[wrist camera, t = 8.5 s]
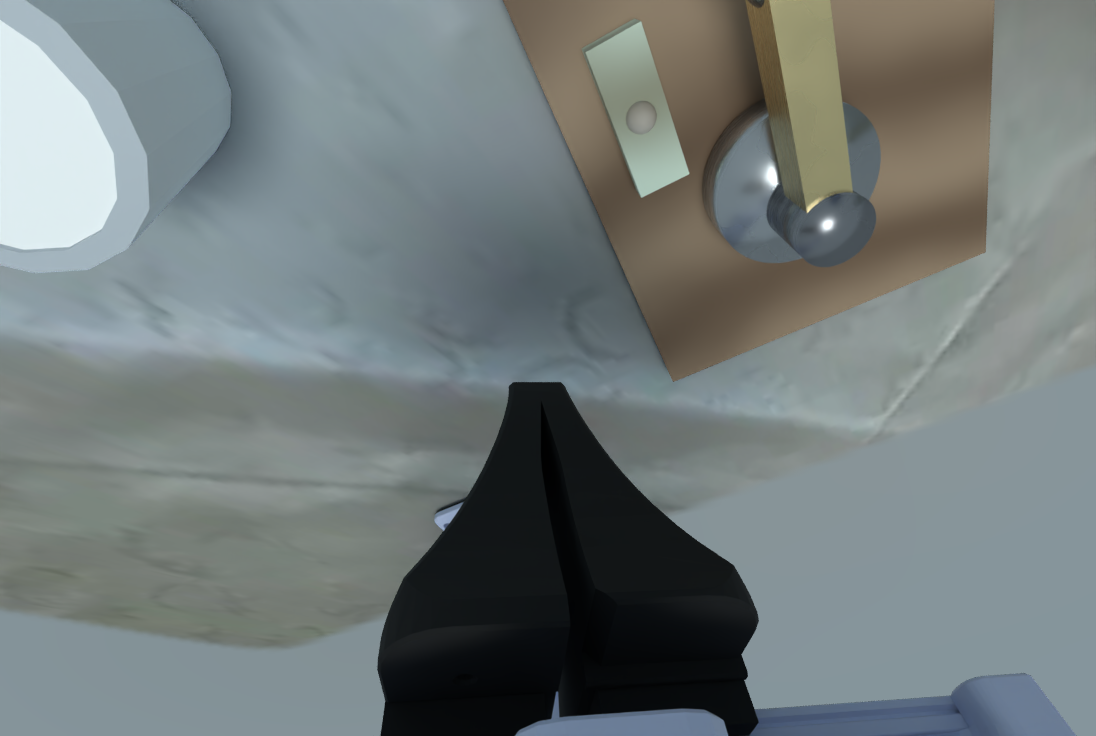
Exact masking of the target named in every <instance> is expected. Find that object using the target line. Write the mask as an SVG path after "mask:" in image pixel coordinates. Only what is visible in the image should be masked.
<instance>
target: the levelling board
mask: <svg viewBox="0 0 1096 736" xmlns="http://www.w3.org/2000/svg"><path fill="white" fill-rule="evenodd" d="M994 1H995V0H830V3H831V11H832V20H833V28H834V36H835V45H836V53H837V62H838V70H839V79H840V87H841V96H842V102H845V103H847V104H850V105H851V106H853V107H855V108H857V109H858V110H860V111H861V112H862V113H863V114H864V115H866V117H867V118H868V119H869V120H870V122H871V123H872V125H873V127H874V128H875V130H876V133H877V136H878V139H879V143H880V150H881V163H880V170H879V175H878V179H877V183H876V185H875V188H874V191H873V193H872V195H871V197H870V199H869V201H870V202H871V203H872V205H873V207H874V209H875V212H876V225H875V228H874V231H873V234H872V236H871V238H870V239H869V241H868V242H867V244H866V245H865V246H864V247H863V248H862V250H861V251H860V252H858V253H857V254H856V255H855V256H853V257H852V258H851V259H849V260H847V261H845V262H843V263H841V264H839V265H836V266H832V267H817V266H813V265H811V264H809V263H808V262H806V261H805V260H804V259H803V258H801V259H798V260H794V261H790V262H784V263H764V262H759V261H755V260H752V259H750V258H747V257H745V256H743V255H742V254H740V253H739V252H737V251H736V250H735V249H734V248H733V247H732V246H731V245H730V244H729V243H728V242H727V240H726V239H725V238H724V237H723V236H722V234H721V233H720V232H719V231H718V230H717V229H716V227H715V226H714V225H713V224H712V222H711V220H710V219H709V217H708V215H707V212H706V209H705V206H704V201H703V192H702V189H703V177H704V172H705V168H706V165H707V162H708V159H709V156H710V154H711V152H712V150H713V148H714V146H715V144H716V143H717V141H718V139H719V138H720V136H721V135H722V134H723V132H724V131H725V129H726V128H727V127H728V126H729V125H730V124H731V123H732V122H733V121H734V120H735V119H736V118H737V117H738V116H739V115H740V114H741V113H742V112H744V111H745V110H746V109H748V108H749V107H750V106H752V105H754V104H755V103H757V102H759V101H760V100H762V99H764V98H765V96H764V91H763V86H762V81H761V76H760V71H759V66H758V61H757V56H756V51H755V46H754V41H753V36H752V31H751V26H750V21H749V16H748V11H747V6H746V1H745V0H503V2H504V4H505V6H506V8H507V11H508V13H509V15H510V17H511V20H512V22H513V24H514V26H515V29H516V31H517V33H518V35H519V37H520V40H521V42H522V44H523V46H524V49H525V51H526V53H527V55H528V58H529V60H530V62H531V64H532V67H533V69H534V71H535V73H536V76H537V78H538V80H539V82H540V85H541V87H542V89H543V91H544V94H545V96H546V98H547V100H548V103H549V105H550V107H551V109H552V112H553V114H554V116H555V118H556V120H557V123H558V125H559V127H560V129H561V132H562V134H563V136H564V138H565V141H566V143H567V145H568V147H569V150H570V152H571V154H572V156H573V159H574V161H575V163H576V165H577V168H578V170H579V172H580V174H581V177H582V179H583V181H584V183H585V186H586V188H587V190H588V192H589V194H590V197H591V199H592V201H593V203H594V206H595V208H596V210H597V212H598V215H599V217H600V219H601V221H602V224H603V226H604V228H605V230H606V233H607V235H608V237H609V239H610V242H611V244H612V246H613V248H614V251H615V253H616V255H617V257H618V260H619V262H620V264H621V266H622V269H623V271H624V273H625V275H626V277H627V280H628V282H629V284H630V286H631V289H632V291H633V293H634V295H635V298H636V300H637V302H638V304H639V307H640V309H641V311H642V313H643V316H644V318H645V320H646V322H647V325H648V327H649V329H650V331H651V334H652V336H653V338H654V340H655V343H656V345H657V347H658V349H659V352H660V354H661V356H662V358H663V360H664V363H665V365H666V367H667V369H668V372H669V374H670V376H671V378H672V381H673V382H674V381H677V380H679V379H682V378H684V377H686V376H689V375H691V374H694V373H696V372H698V371H701V370H703V369H706V368H708V367H710V366H713V365H715V364H718V363H720V362H722V361H725V360H727V359H730V358H732V357H734V356H737V355H739V354H742V353H744V352H747V351H749V350H751V349H754V348H756V347H759V346H761V345H763V344H766V343H768V342H771V341H773V340H775V339H778V338H780V337H783V336H785V335H787V334H790V333H792V332H795V331H797V330H799V329H802V328H804V327H807V326H809V325H812V324H814V323H816V322H819V321H821V320H824V319H826V318H828V317H831V316H833V315H836V314H838V313H840V312H843V311H845V310H848V309H850V308H852V307H855V306H857V305H860V304H862V303H864V302H867V301H869V300H872V299H874V298H877V297H879V296H881V295H884V294H886V293H889V292H891V291H893V290H896V289H898V288H901V287H903V286H905V285H908V284H910V283H913V282H915V281H917V280H920V279H922V278H925V277H927V276H929V275H932V274H934V273H937V272H939V271H942V270H944V269H946V268H949V267H951V266H954V265H956V264H958V263H961V262H963V261H966V260H968V259H970V258H973V257H975V256H978V255H980V254H982V253H985V252H986V225H987V197H988V169H989V141H990V113H991V85H992V57H993V29H994Z"/></svg>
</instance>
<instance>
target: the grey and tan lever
mask: <svg viewBox="0 0 1096 736" xmlns="http://www.w3.org/2000/svg"><path fill="white" fill-rule="evenodd" d="M745 1H746V6H747V11H748V16H749V21H750V26H751V31H752V36H753V41H754V46H755V51H756V56H757V61H758V66H759V71H760V76H761V81H762V86H763V91H764V96H765V98H764V99H762V100H760V101H759V102H757V103H755V104H754V105H752V106H750V107H749V108H748V109H746V110H745V111H744V112H742V113H741V114H740V115H739V116H738V117H737V118H736V119H735V120H734V121H733V122H732V123H731V124H730V125H729V126H728V127H727V128H726V129H725V131H724V132H723V134H722V135H721V136H720V138H719V139H718V141H717V143H716V144H715V146H714V148H713V150H712V152H711V154H710V156H709V159H708V162H707V165H706V168H705V172H704V177H703V189H702V192H703V201H704V206H705V209H706V212H707V215H708V217H709V219H710V220H711V222H712V224H713V225H714V226H715V227H716V229H717V230H718V231H719V232H720V233H721V234H722V236H723V237H724V238H725V239H726V240H727V242H728V243H729V244H730V245H731V246H732V247H733V248H734V249H735V250H736V251H737V252H739V253H740V254H742V255H743V256H745V257H747V258H750V259H752V260H755V261H759V262H764V263H784V262H790V261H794V260H798V259H801V258H803V259H804V260H805V261H806V262H808V263H809V264H811V265H813V266H817V267H832V266H836V265H839V264H841V263H843V262H845V261H847V260H849V259H851V258H852V257H853V256H855V255H856V254H857V253H858V252H860V251H861V250H862V248H863V247H864V246H865V245H866V244H867V242H868V241H869V239H870V238H871V236H872V234H873V231H874V228H875V225H876V212H875V209H874V207H873V205H872V203H871V202H870V201H869V199H870V197H871V195H872V193H873V191H874V188H875V185H876V183H877V179H878V175H879V170H880V163H881V150H880V143H879V139H878V136H877V133H876V130H875V128H874V127H873V125H872V123H871V122H870V120H869V119H868V118H867V117H866V115H864V114H863V113H862V112H861V111H860V110H858V109H857V108H855V107H853V106H851V105H850V104H847V103H845V102H842V96H841V87H840V79H839V70H838V62H837V53H836V45H835V36H834V28H833V20H832V11H831V3H830V0H745Z"/></svg>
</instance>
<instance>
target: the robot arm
mask: <svg viewBox="0 0 1096 736" xmlns="http://www.w3.org/2000/svg"><path fill="white" fill-rule="evenodd" d="M435 523H436V524H437V525H438V526H439V527H440V528H441V529H442V530H443V532H442V534H441V535H440V536H439V538H438V539H437V540H436V542H435V543H434V544H433V545H432V547H431V548H430V549H429V550H428V552H427V553H426V554H425V555H424V556H423V557H422V558H421V559H420V560H419V562H418V563H417V564H416V565H415V566H414V567H413V568H412V569H411V571H410V572H409V573H408V574H407V575H406V576H405V577H404V579H403V581H402V583H401V585H400V587H399V590H398V592H397V594H396V596H395V598H394V601H393V603H392V605H391V608H390V610H389V613H388V616H387V619H386V622H385V625H384V629H383V632H382V637H381V642H380V649H379V656H378V669H377V670H378V674H379V678H380V681H381V685H382V689H383V693H384V697H385V708H384V715H383V722H382V730H381V736H1076V735H1075V733H1074V732H1073V731H1072V730H1071V728H1070V727H1069V726H1068V724H1067V723H1066V721H1065V720H1064V719H1063V717H1061V715H1060V714H1059V712H1058V711H1057V710H1056V708H1055V707H1054V706H1053V705H1052V703H1051V702H1050V700H1049V699H1048V698H1047V696H1046V695H1045V694H1044V692H1043V691H1042V690H1041V689H1040V687H1039V686H1038V685H1037V683H1036V682H1035V681H1034V679H1033V678H1032V677H1031V675H1028V674H1025V673H1020V674H1004V675H989V676H980V677H975V678H972V679H969V680H966V681H965V682H963V683H961V684H960V685H959V686H958V687H956V689H955V690H954V691H953V692H952V694H951V696H939V697H924V698H911V699H896V700H882V701H868V702H854V703H840V704H827V705H826V704H825V705H812V706H799V707H798V706H797V707H784V708H769V709H755V710H754V707H753V704H752V701H751V698H750V696H749V693H748V690H747V687H746V684H745V681H744V680H745V679H746V678H747V677H748V673H747V669H746V667H745V664H744V661H743V658H742V655H741V654H742V653H743V651H744V649H745V647H746V646H747V644H748V642H749V641H750V639H751V637H752V636H753V634H754V632H755V630H756V627H757V624H758V621H759V620H758V614H757V611H756V608H755V606H754V603H753V601H752V599H751V596H750V594H749V592H748V590H747V588H746V586H745V584H744V583H743V581H742V579H741V577H740V576H739V574H738V572H737V570H736V569H735V567H734V565H732V564H731V563H729V562H728V561H727V560H725V559H723V558H722V557H720V556H719V555H717V554H716V553H715V552H713V551H711V550H710V549H709V548H707V547H706V546H704V545H703V544H701V543H700V542H698V541H697V540H695V539H694V538H693V537H692V536H690V535H689V534H688V533H686V532H685V531H684V530H682V529H681V528H680V527H679V526H677V525H676V524H675V523H674V522H673V521H672V520H670V519H669V518H668V517H667V516H666V515H665V514H664V513H662V512H661V511H660V510H659V509H658V508H657V507H656V506H654V505H653V504H652V503H651V502H650V501H649V500H648V499H647V498H646V497H645V496H644V495H643V494H642V493H641V492H640V491H639V490H638V489H637V488H636V487H635V486H634V485H633V484H632V483H631V481H630V480H629V479H628V478H627V477H626V476H625V475H624V474H623V473H622V471H621V470H620V469H619V468H618V467H617V466H616V464H615V463H614V462H613V461H612V459H611V458H610V457H609V455H608V454H607V453H606V452H605V450H604V449H603V448H602V446H601V445H600V444H599V442H598V441H597V439H596V438H595V436H594V435H593V434H592V432H591V431H590V429H589V428H588V426H587V425H586V423H585V422H584V420H583V418H582V417H581V415H580V414H579V412H578V410H577V409H576V407H575V405H574V403H573V402H572V400H571V398H570V396H569V394H568V392H567V390H566V388H565V386H564V385H563V384H562V383H561V382H513V383H512V384H511V385H509V397H508V403H507V408H506V411H505V415H504V419H503V422H502V424H501V427H500V430H499V433H498V436H497V439H496V441H495V443H494V446H493V448H492V450H491V452H490V455H489V457H488V459H487V461H486V464H485V466H484V468H483V470H482V472H481V473H480V475H479V477H478V479H477V481H476V483H475V484H474V486H473V488H472V490H471V491H470V493H469V495H468V496H467V498H466V499H465V501H464V502H462V503H460V504H457V505H455V506H452V507H450V508H447V509H445V510H442V511H440V512H438V513H436V515H435Z"/></svg>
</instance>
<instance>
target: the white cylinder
mask: <svg viewBox="0 0 1096 736" xmlns="http://www.w3.org/2000/svg"><path fill="white" fill-rule="evenodd" d="M231 96H232V93H231V90H230V87H229V84H228V81H227V78H226V75H225V72H224V69H223V66H222V64H221V61H220V58H219V55H218V53H217V52H216V51H215V49H214V48H213V46H212V45H211V44H210V42H209V41H208V40H207V38H206V37H205V36H204V34H203V33H202V31H201V30H200V29H199V27H198V26H197V25H196V23H195V22H194V20H193V19H192V18H191V17H190V16H189V15H188V14H187V13H185V12H184V11H183V10H182V9H180V8H179V7H178V6H176V5H175V4H174V3H173V2H171V1H170V0H0V265H2V266H6V267H11V268H15V269H19V270H23V271H27V272H32V273H44V272H60V271H76V270H89V269H91V268H93V267H95V266H96V265H98V264H100V263H102V262H104V261H106V260H108V259H109V258H111V257H113V256H115V255H117V254H119V253H121V252H122V251H124V250H126V249H128V248H129V247H130V246H131V245H132V244H133V243H134V242H135V240H136V239H137V238H138V237H139V236H140V235H141V234H142V233H143V232H144V230H145V229H146V228H147V227H148V226H149V225H150V224H151V223H152V222H153V221H154V219H155V218H156V217H157V216H158V215H159V214H160V213H161V212H162V211H163V209H164V208H165V207H166V206H167V205H168V204H169V203H170V202H171V201H172V199H173V198H174V197H175V196H176V195H177V194H178V193H179V192H180V191H181V190H182V188H183V187H184V186H185V185H186V184H187V183H188V182H189V181H190V180H191V178H192V177H193V176H194V175H195V174H196V173H197V172H198V171H199V170H200V169H201V167H202V166H203V165H204V164H205V163H206V162H207V161H208V160H209V159H210V157H211V156H212V155H213V154H214V153H215V152H216V150H217V149H218V147H219V145H220V144H221V142H222V140H223V138H224V137H225V135H226V133H227V131H228V130H229V128H230V122H231Z"/></svg>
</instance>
